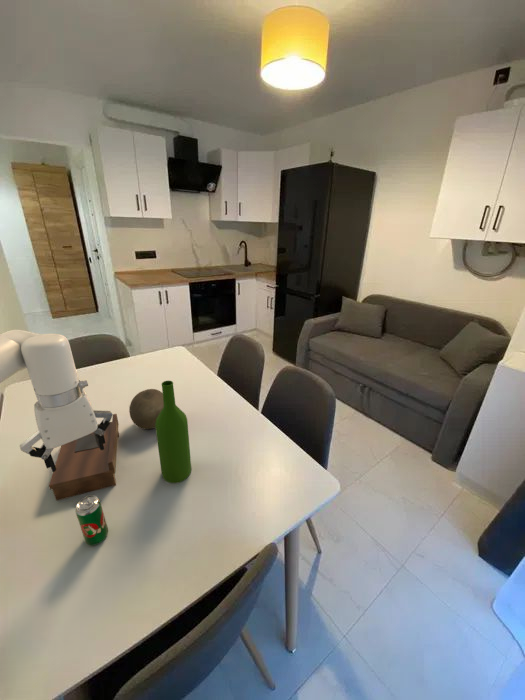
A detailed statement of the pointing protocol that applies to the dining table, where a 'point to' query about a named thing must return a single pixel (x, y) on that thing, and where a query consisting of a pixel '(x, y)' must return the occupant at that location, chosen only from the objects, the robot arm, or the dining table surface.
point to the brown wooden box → (86, 464)
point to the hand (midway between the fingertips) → (78, 456)
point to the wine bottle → (173, 438)
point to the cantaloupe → (146, 408)
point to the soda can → (91, 520)
